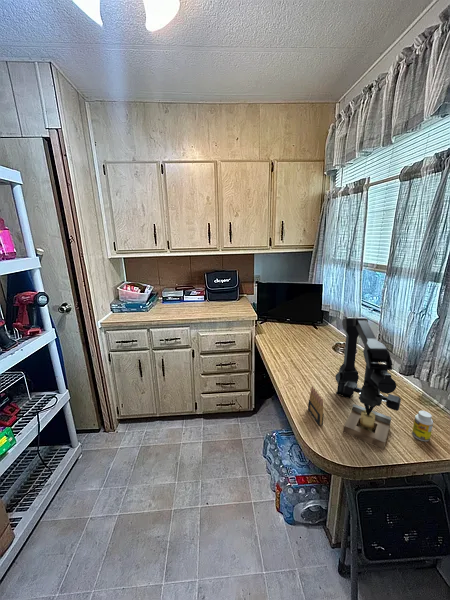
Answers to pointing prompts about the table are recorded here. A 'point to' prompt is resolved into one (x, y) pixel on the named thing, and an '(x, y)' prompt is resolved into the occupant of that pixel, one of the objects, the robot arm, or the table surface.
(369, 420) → the cylinder
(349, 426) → the jig
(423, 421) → the supplement bottle
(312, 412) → the tan upright panel
